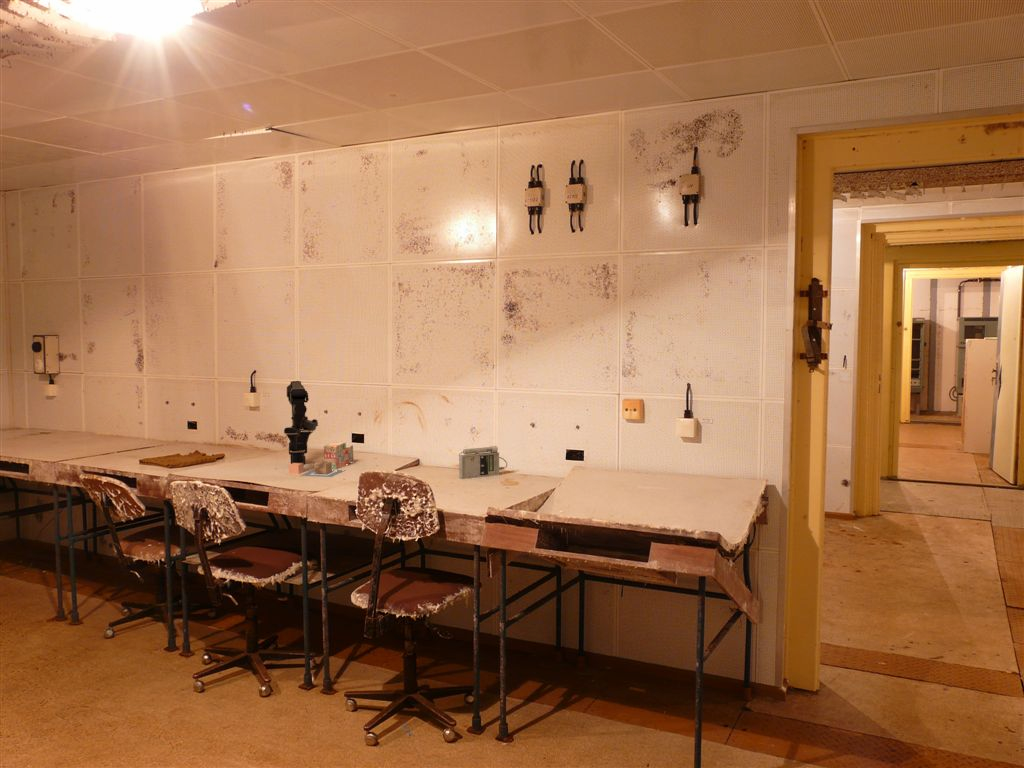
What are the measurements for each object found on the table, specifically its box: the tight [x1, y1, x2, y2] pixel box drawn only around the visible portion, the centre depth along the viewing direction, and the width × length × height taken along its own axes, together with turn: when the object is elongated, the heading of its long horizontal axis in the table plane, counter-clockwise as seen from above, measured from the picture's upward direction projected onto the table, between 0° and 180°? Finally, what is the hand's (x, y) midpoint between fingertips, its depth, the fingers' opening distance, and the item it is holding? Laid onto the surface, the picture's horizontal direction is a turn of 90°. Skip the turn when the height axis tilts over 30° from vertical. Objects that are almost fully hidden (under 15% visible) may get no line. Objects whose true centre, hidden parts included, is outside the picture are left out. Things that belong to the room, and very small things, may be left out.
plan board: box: [299, 469, 347, 478], centre depth 379 cm, size 16×16×1 cm
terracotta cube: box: [288, 463, 305, 475], centre depth 380 cm, size 5×5×5 cm
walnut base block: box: [313, 460, 333, 474], centre depth 379 cm, size 6×6×5 cm
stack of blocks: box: [323, 441, 355, 470], centre depth 398 cm, size 21×6×12 cm, turn 168°
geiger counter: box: [458, 445, 508, 480], centre depth 373 cm, size 14×6×25 cm
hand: (300, 447), depth 378 cm, fingers open, 9 cm apart
